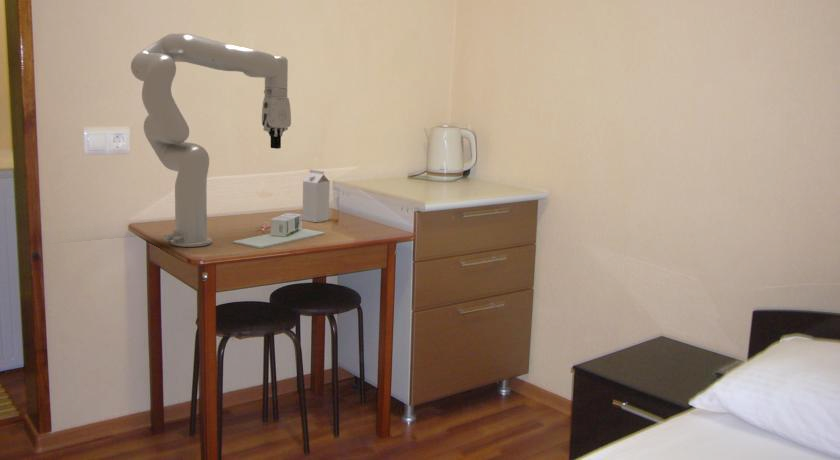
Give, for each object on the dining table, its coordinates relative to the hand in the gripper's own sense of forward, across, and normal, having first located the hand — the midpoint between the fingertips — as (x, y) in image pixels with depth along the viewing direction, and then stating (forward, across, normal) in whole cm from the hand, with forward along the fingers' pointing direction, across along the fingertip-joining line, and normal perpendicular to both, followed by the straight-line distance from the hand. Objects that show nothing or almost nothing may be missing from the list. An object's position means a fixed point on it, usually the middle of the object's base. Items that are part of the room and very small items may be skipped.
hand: (275, 148), depth 263 cm
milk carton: (+29, +27, +4) cm, 40 cm away
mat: (+29, -7, -9) cm, 31 cm away
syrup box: (+26, -8, -8) cm, 28 cm away
